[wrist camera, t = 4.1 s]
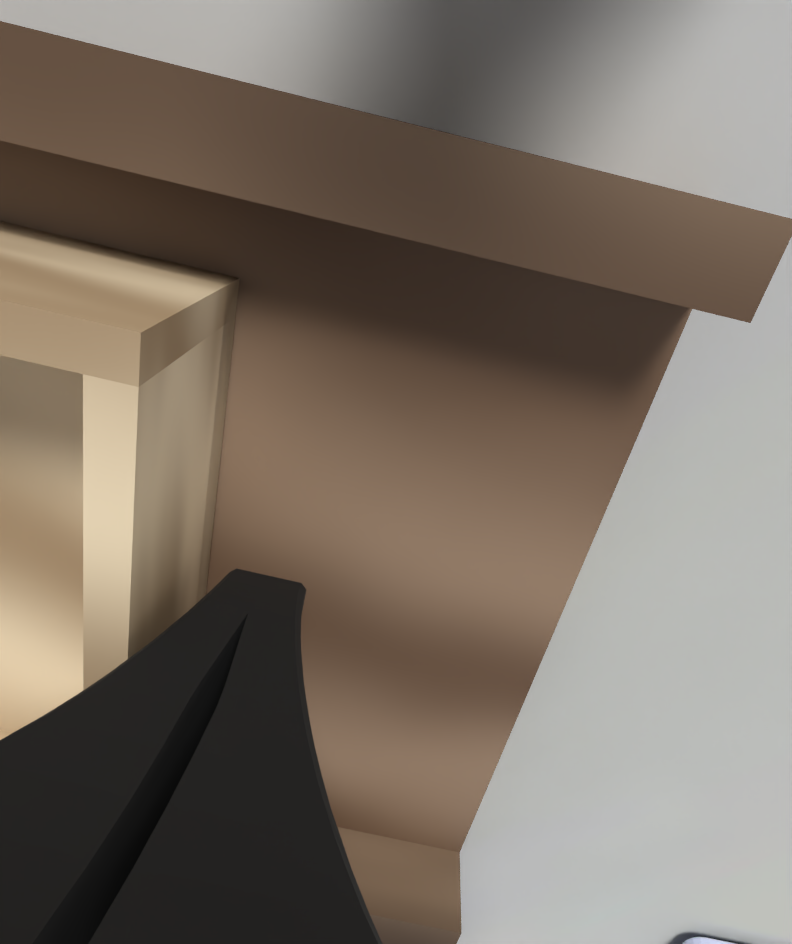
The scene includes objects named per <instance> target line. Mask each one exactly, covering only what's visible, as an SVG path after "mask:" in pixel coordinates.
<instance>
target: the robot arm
mask: <svg viewBox="0 0 792 944" xmlns="http://www.w3.org/2000/svg"><path fill="white" fill-rule="evenodd" d="M305 595H306V589H305V587H304V586H303V584H302V583H299V582H295V581H291V580H286V579H282V578H277V577H273V576H268V575H264V574H259V573H255V572H250V571H246V570H241V569H237V568H236V569H235V570H233V571H231V572H229V573H228V574H227V575H226V576H225V577H224V578H223V579H222V580H221V581H220V582H219V583H218V584H217V585H216V586H215V587H214V588H213V589H212V590H211V591H210V592H209V593H208V594H207V595H205V596H204V597H203V598H202V599H201V600H200V601H199V602H198V603H197V604H195V605H194V606H193V607H192V608H191V609H190V610H189V611H188V612H186V613H185V614H184V615H183V616H182V617H181V618H179V619H178V620H177V621H176V622H174V623H173V624H172V625H171V626H170V627H168V628H167V629H166V630H165V631H164V632H162V633H161V634H160V635H159V636H158V637H156V638H155V639H154V640H153V641H151V642H150V643H149V644H148V645H146V646H145V647H144V648H142V649H141V650H139V651H138V652H137V653H135V654H134V655H133V656H131V657H130V658H129V659H127V660H126V661H125V662H123V663H122V664H121V665H119V666H118V667H117V668H115V669H114V670H112V671H111V672H110V673H108V674H107V675H105V676H104V677H103V678H101V679H100V680H98V681H97V682H95V683H94V684H92V685H91V686H89V687H88V688H86V689H85V690H83V691H82V692H80V693H79V694H77V695H76V696H74V697H72V698H71V699H69V700H68V701H66V702H64V703H63V704H61V705H60V706H58V707H56V708H55V709H53V710H52V711H50V712H48V713H47V714H45V715H43V716H42V717H40V718H38V719H36V720H35V721H33V722H31V723H29V724H27V725H26V726H24V727H22V728H20V729H19V730H17V731H15V732H13V733H12V734H10V735H8V736H6V737H5V738H3V739H1V740H0V944H382V941H381V939H380V937H379V935H378V932H377V930H376V928H375V925H374V923H373V921H372V918H371V916H370V914H369V912H368V909H367V907H366V904H365V901H364V899H363V896H362V894H361V891H360V889H359V886H358V884H357V881H356V879H355V876H354V874H353V871H352V869H351V866H350V863H349V860H348V857H347V854H346V851H345V848H344V845H343V842H342V839H341V836H340V833H339V830H338V828H337V825H336V822H335V819H334V816H333V813H332V810H331V807H330V803H329V800H328V796H327V792H326V789H325V785H324V782H323V778H322V774H321V770H320V766H319V762H318V758H317V754H316V750H315V745H314V740H313V735H312V730H311V725H310V720H309V713H308V707H307V701H306V694H305V686H304V678H303V666H302V654H301V615H302V610H303V605H304V600H305ZM682 944H736V943H731V942H726V941H721V940H716V939H712V938H707V937H693V938H690V939H687V940H686V941H685V942H683V943H682Z"/></svg>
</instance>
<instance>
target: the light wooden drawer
mask: <svg viewBox="0 0 792 944" xmlns="http://www.w3.org/2000/svg"><path fill="white" fill-rule="evenodd" d="M239 280H240V278H236V277H232V276H228V275H223V274H219V273H215V272H211V271H207V270H202V269H198V268H194V267H190V266H186V265H181V264H177V263H173V262H169V261H165V260H161V259H156V258H152V257H148V256H144V255H140V254H135V253H131V252H127V251H123V250H119V249H114V248H110V247H106V246H102V245H98V244H94V243H89V242H85V241H81V240H77V239H73V238H68V237H64V236H60V235H56V234H52V233H47V232H43V231H39V230H35V229H31V228H26V227H22V226H18V225H14V224H10V223H6V222H1V221H0V740H1V739H3V738H5V737H6V736H8V735H10V734H12V733H13V732H15V731H17V730H19V729H20V728H22V727H24V726H26V725H27V724H29V723H31V722H33V721H35V720H36V719H38V718H40V717H42V716H43V715H45V714H47V713H48V712H50V711H52V710H53V709H55V708H56V707H58V706H60V705H61V704H63V703H64V702H66V701H68V700H69V699H71V698H72V697H74V696H76V695H77V694H79V693H80V692H82V691H83V690H85V689H86V688H88V687H89V686H91V685H92V684H94V683H95V682H97V681H98V680H100V679H101V678H103V677H104V676H105V675H107V674H108V673H110V672H111V671H112V670H114V669H115V668H117V667H118V666H119V665H121V664H122V663H123V662H125V661H126V660H127V659H129V658H130V657H131V656H133V655H134V654H135V653H137V652H138V651H139V650H141V649H142V648H144V647H145V646H146V645H148V644H149V643H150V642H151V641H153V640H154V639H155V638H156V637H158V636H159V635H160V634H161V633H162V632H164V631H165V630H166V629H167V628H168V627H170V626H171V625H172V624H173V623H174V622H176V621H177V620H178V619H179V618H181V617H182V616H183V615H184V614H185V613H186V612H188V611H189V610H190V609H191V608H192V607H193V606H194V605H195V604H197V603H198V602H199V601H200V600H201V599H202V598H203V597H204V596H205V595H206V588H207V579H208V570H209V560H210V551H211V542H212V532H213V523H214V513H215V504H216V495H217V485H218V476H219V467H220V457H221V448H222V439H223V429H224V420H225V411H226V401H227V392H228V383H229V373H230V364H231V355H232V345H233V336H234V326H235V317H236V308H237V298H238V289H239Z"/></svg>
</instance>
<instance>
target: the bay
mask: <svg viewBox="0 0 792 944" xmlns="http://www.w3.org/2000/svg"><path fill="white" fill-rule="evenodd" d="M0 221H1V222H6V223H10V224H14V225H18V226H22V227H26V228H31V229H35V230H39V231H43V232H47V233H52V234H56V235H60V236H64V237H68V238H73V239H77V240H81V241H85V242H89V243H94V244H98V245H102V246H106V247H110V248H114V249H119V250H123V251H127V252H131V253H135V254H140V255H144V256H148V257H152V258H156V259H161V260H165V261H169V262H173V263H177V264H181V265H186V266H190V267H194V268H198V269H202V270H207V271H211V272H215V273H219V274H223V275H228V276H232V277H236V278H240V280H239V289H238V298H237V308H236V317H235V326H234V336H233V345H232V355H231V364H230V373H229V383H228V392H227V401H226V411H225V420H224V429H223V439H222V448H221V457H220V467H219V476H218V485H217V495H216V504H215V513H214V523H213V532H212V542H211V551H210V560H209V570H208V579H207V588H206V595H207V594H208V593H209V592H210V591H211V590H212V589H213V588H214V587H215V586H216V585H217V584H218V583H219V582H220V581H221V580H222V579H223V578H224V577H225V576H226V575H227V574H228V573H229V572H231V571H233V570H235V569H236V568H237V569H241V570H246V571H250V572H255V573H259V574H264V575H268V576H273V577H277V578H282V579H286V580H291V581H295V582H299V583H302V584H303V586H304V587H305V589H306V595H305V600H304V605H303V610H302V615H301V654H302V666H303V678H304V686H305V694H306V701H307V707H308V713H309V720H310V725H311V730H312V735H313V740H314V745H315V750H316V754H317V758H318V762H319V766H320V770H321V774H322V778H323V782H324V785H325V789H326V792H327V796H328V800H329V803H330V807H331V810H332V813H333V816H334V819H335V822H336V825H337V828H338V830H339V833H340V836H341V839H342V842H343V845H344V848H345V851H346V854H347V857H348V860H349V863H350V866H351V869H352V871H353V874H354V876H355V879H356V881H357V884H358V886H359V889H360V891H361V894H362V896H363V899H364V901H365V904H366V907H367V909H368V912H369V914H370V916H371V918H372V921H373V923H374V925H375V928H376V930H377V932H378V935H379V937H380V939H381V941H382V944H456V943H457V941H458V939H459V937H460V935H461V899H460V855H459V852H460V850H461V848H462V845H463V843H464V841H465V838H466V836H467V834H468V831H469V829H470V827H471V824H472V822H473V819H474V817H475V815H476V812H477V810H478V808H479V805H480V803H481V801H482V798H483V796H484V794H485V791H486V789H487V787H488V784H489V782H490V780H491V777H492V775H493V773H494V770H495V768H496V766H497V763H498V761H499V759H500V756H501V754H502V752H503V749H504V747H505V745H506V742H507V740H508V738H509V735H510V733H511V731H512V728H513V726H514V724H515V721H516V719H517V717H518V714H519V712H520V710H521V707H522V705H523V703H524V700H525V698H526V696H527V693H528V691H529V689H530V686H531V684H532V682H533V679H534V677H535V675H536V672H537V670H538V668H539V665H540V663H541V661H542V658H543V656H544V654H545V651H546V649H547V647H548V644H549V642H550V640H551V637H552V635H553V633H554V630H555V628H556V626H557V623H558V621H559V619H560V616H561V614H562V612H563V609H564V607H565V605H566V602H567V600H568V598H569V595H570V593H571V591H572V588H573V586H574V584H575V581H576V579H577V577H578V574H579V572H580V569H581V567H582V565H583V562H584V560H585V558H586V555H587V553H588V551H589V548H590V546H591V544H592V541H593V539H594V537H595V534H596V532H597V530H598V527H599V525H600V523H601V520H602V518H603V516H604V513H605V511H606V509H607V506H608V504H609V502H610V499H611V497H612V495H613V492H614V490H615V488H616V485H617V483H618V481H619V478H620V476H621V474H622V471H623V469H624V467H625V464H626V462H627V460H628V457H629V455H630V453H631V450H632V448H633V446H634V443H635V441H636V439H637V436H638V434H639V432H640V429H641V427H642V425H643V422H644V420H645V418H646V415H647V413H648V411H649V408H650V406H651V404H652V401H653V399H654V397H655V394H656V392H657V390H658V387H659V385H660V383H661V380H662V378H663V376H664V373H665V371H666V369H667V366H668V364H669V362H670V359H671V357H672V355H673V352H674V350H675V348H676V345H677V343H678V341H679V338H680V336H681V334H682V331H683V329H684V326H685V324H686V322H687V319H688V317H689V315H690V312H691V310H692V309H696V310H700V311H704V312H708V313H712V314H716V315H720V316H724V317H729V318H733V319H737V320H741V321H745V322H749V323H751V321H752V319H753V316H754V314H755V312H756V310H757V308H758V306H759V304H760V302H761V300H762V297H763V295H764V293H765V291H766V289H767V287H768V285H769V283H770V281H771V278H772V276H773V274H774V272H775V270H776V268H777V266H778V264H779V262H780V259H781V257H782V255H783V253H784V251H785V249H786V247H787V245H788V243H789V240H790V238H791V236H792V219H790V218H786V217H782V216H778V215H774V214H770V213H766V212H762V211H758V210H754V209H750V208H746V207H742V206H738V205H734V204H730V203H726V202H722V201H718V200H714V199H710V198H706V197H702V196H698V195H694V194H690V193H686V192H682V191H678V190H674V189H670V188H666V187H662V186H658V185H654V184H650V183H646V182H642V181H638V180H634V179H630V178H626V177H622V176H618V175H614V174H610V173H606V172H602V171H598V170H594V169H590V168H586V167H582V166H578V165H574V164H570V163H566V162H562V161H558V160H554V159H550V158H546V157H542V156H538V155H534V154H530V153H526V152H522V151H518V150H514V149H510V148H506V147H502V146H498V145H494V144H490V143H486V142H482V141H478V140H474V139H470V138H466V137H462V136H458V135H454V134H450V133H446V132H442V131H438V130H434V129H430V128H426V127H422V126H418V125H414V124H410V123H406V122H402V121H398V120H394V119H390V118H386V117H382V116H378V115H374V114H370V113H366V112H362V111H358V110H354V109H350V108H346V107H342V106H338V105H334V104H330V103H326V102H322V101H318V100H314V99H310V98H306V97H302V96H298V95H294V94H290V93H286V92H282V91H278V90H274V89H270V88H266V87H262V86H258V85H254V84H250V83H246V82H242V81H238V80H234V79H230V78H226V77H222V76H218V75H214V74H210V73H206V72H202V71H198V70H194V69H190V68H186V67H182V66H178V65H174V64H170V63H166V62H162V61H158V60H154V59H150V58H146V57H142V56H138V55H134V54H130V53H126V52H122V51H118V50H114V49H110V48H106V47H102V46H98V45H94V44H90V43H86V42H82V41H78V40H74V39H70V38H66V37H62V36H58V35H54V34H50V33H46V32H42V31H38V30H34V29H30V28H26V27H22V26H18V25H14V24H10V23H6V22H2V21H0Z"/></svg>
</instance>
